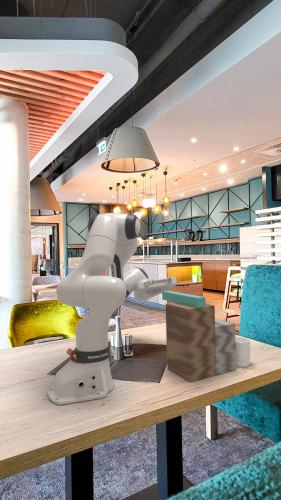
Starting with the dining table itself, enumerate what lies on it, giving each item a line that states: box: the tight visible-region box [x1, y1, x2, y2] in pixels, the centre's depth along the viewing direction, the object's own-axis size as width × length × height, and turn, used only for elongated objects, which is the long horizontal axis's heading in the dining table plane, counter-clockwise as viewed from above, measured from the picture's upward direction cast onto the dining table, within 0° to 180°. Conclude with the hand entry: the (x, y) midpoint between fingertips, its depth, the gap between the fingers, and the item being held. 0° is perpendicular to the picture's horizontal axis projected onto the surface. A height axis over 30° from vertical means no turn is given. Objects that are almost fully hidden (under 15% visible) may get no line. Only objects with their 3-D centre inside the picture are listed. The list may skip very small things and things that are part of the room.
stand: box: [165, 302, 237, 383], centre depth 126 cm, size 22×15×26 cm
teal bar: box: [161, 290, 207, 308], centre depth 128 cm, size 4×24×4 cm, turn 29°
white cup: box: [235, 336, 251, 368], centre depth 131 cm, size 8×8×10 cm
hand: (161, 280), depth 144 cm, fingers open, 8 cm apart
